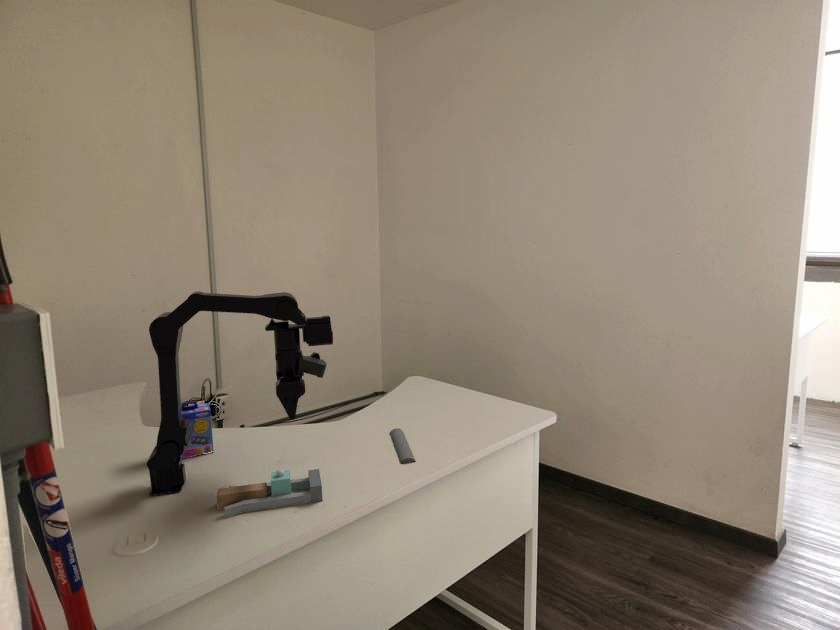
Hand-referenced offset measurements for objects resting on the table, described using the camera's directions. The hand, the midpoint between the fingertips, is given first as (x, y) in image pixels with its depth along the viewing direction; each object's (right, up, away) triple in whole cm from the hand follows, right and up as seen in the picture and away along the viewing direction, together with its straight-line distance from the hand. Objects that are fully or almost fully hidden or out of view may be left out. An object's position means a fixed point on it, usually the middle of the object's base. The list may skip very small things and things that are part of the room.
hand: (292, 412), depth 127 cm
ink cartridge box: (-29, -13, +14) cm, 35 cm away
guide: (-1, -17, -10) cm, 19 cm away
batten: (-8, -17, -12) cm, 22 cm away
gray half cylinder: (+25, -12, +15) cm, 32 cm away
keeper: (0, -16, -10) cm, 19 cm away
